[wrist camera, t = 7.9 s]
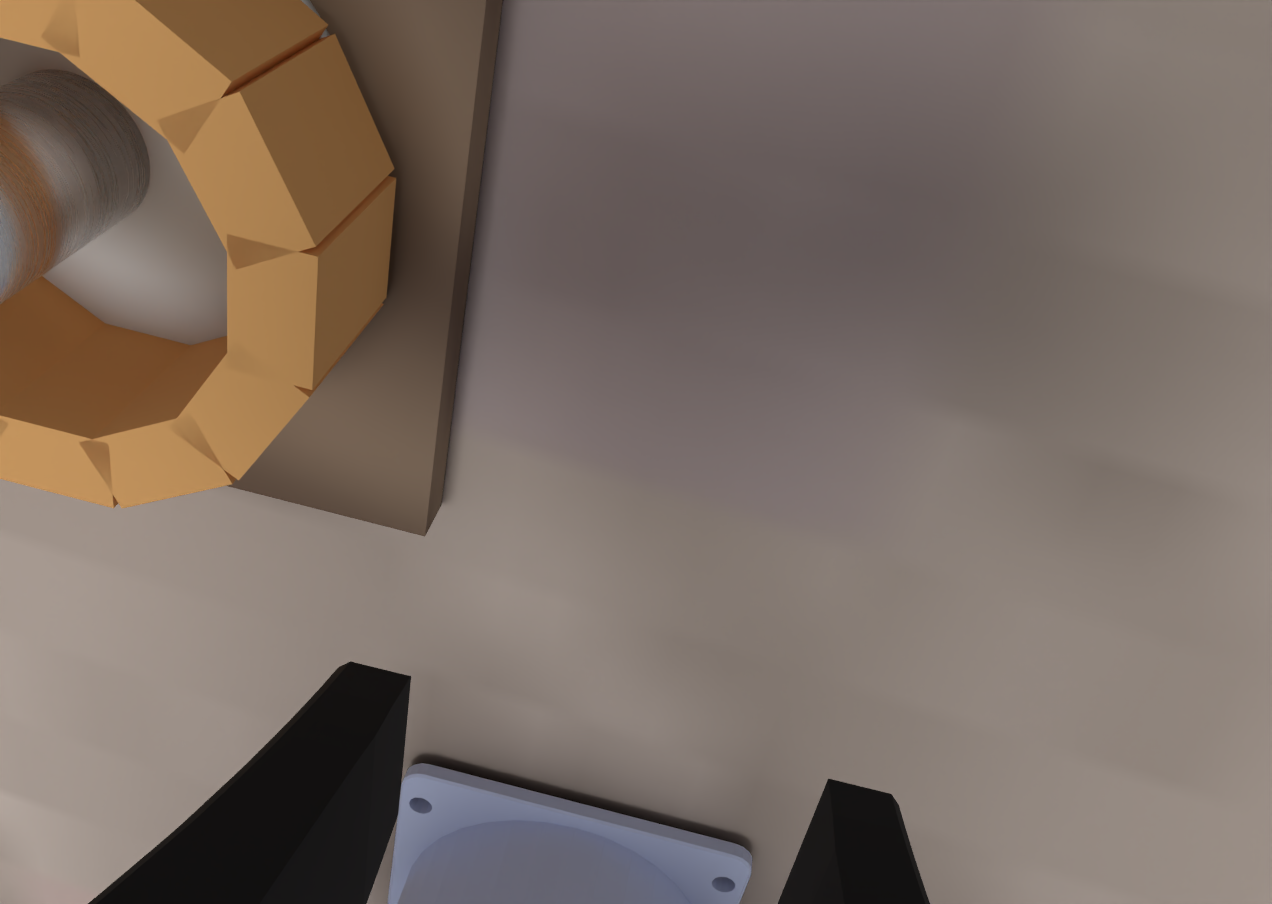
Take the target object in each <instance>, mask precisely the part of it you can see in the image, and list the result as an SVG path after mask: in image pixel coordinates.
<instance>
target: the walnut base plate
mask: <svg viewBox="0 0 1272 904" xmlns="http://www.w3.org/2000/svg"><path fill="white" fill-rule="evenodd" d="M301 1H302V2H303V3H304V4H306V5H307V6H308V7H309V8H310V9H311V10H312V11H313V12H315V13H316V14H317V15H318V16H319V17H320V18H321V19H323V20H324V21H325V22H326V23H327V24H328V26H327V28H326V29H325V31H324V32H323V34H322V35H321V37H320V38H319V39H321V38H324V37H327V36H329V35H332V34H335V35H336V37H337V39H338V42H339V44H340V46H341V48H342V51H343V53H344V55H345V57H346V60H347V62H348V64H349V66H350V69H351V71H352V73H353V76H354V78H355V80H356V82H357V85H358V87H359V89H360V91H361V94H362V96H363V98H364V100H365V103H366V105H367V107H368V109H369V112H370V114H371V116H372V119H373V121H374V123H375V125H376V128H377V130H378V132H379V134H380V137H381V139H382V141H383V143H384V146H385V148H386V150H387V153H388V155H389V157H390V159H391V162H392V164H393V166H394V168H395V169H394V170H393V171H392V172H391V173H390V174H389V175H388V176H391V177H395V178H396V188H395V200H394V212H393V224H392V236H391V249H390V261H389V273H388V285H387V297H386V299H385V300H384V301H383V302H382V303H383V304H384V305H383V306H382V307H381V308H380V310H379V311H378V312H377V313H376V315H375V316H374V317H373V318H372V320H371V321H370V322H369V323H368V325H367V326H366V327H365V328H364V330H363V331H362V332H361V333H360V335H359V336H358V337H357V338H356V340H355V341H354V342H353V343H352V345H351V346H350V347H349V348H348V350H347V351H346V352H345V353H344V355H343V356H342V357H341V359H340V360H339V361H338V362H337V364H336V365H335V366H334V367H333V369H332V370H331V371H330V372H329V374H328V375H327V376H326V377H325V379H324V380H323V381H322V382H321V384H320V385H319V386H318V387H317V389H316V390H315V391H314V392H313V394H312V395H311V396H310V397H309V399H308V400H307V401H306V402H305V403H304V405H303V406H302V407H301V408H300V409H299V410H298V412H297V413H296V414H295V415H294V416H293V417H292V419H291V420H290V421H289V422H288V423H287V424H286V426H285V427H284V428H283V429H282V430H281V432H280V433H279V434H278V435H277V436H276V437H275V439H274V440H273V441H272V442H271V443H270V444H269V446H268V447H267V448H266V449H265V450H264V451H263V453H262V454H261V455H260V456H259V457H258V459H257V460H256V461H255V462H254V463H253V464H252V466H251V467H250V468H249V469H248V470H247V471H246V473H245V474H244V475H243V476H242V477H241V478H240V480H237V479H236V480H235V481H234V483H233V484H231V485H226V486H229V487H233V488H237V489H241V490H245V491H249V492H253V493H257V494H261V495H265V496H269V497H273V498H277V499H281V500H284V501H288V502H292V503H296V504H300V505H304V506H308V507H312V508H316V509H320V510H324V511H328V512H332V513H336V514H339V515H343V516H347V517H351V518H355V519H359V520H363V521H367V522H371V523H375V524H379V525H383V526H387V527H391V528H394V529H398V530H402V531H406V532H410V533H414V534H418V535H422V536H425V535H426V533H427V531H428V529H429V528H430V526H431V524H432V522H433V520H434V518H435V516H436V514H437V512H438V510H439V508H440V506H441V502H442V494H443V486H444V478H445V469H446V461H447V453H448V445H449V437H450V428H451V420H452V412H453V404H454V396H455V388H456V379H457V371H458V363H459V355H460V347H461V338H462V330H463V322H464V314H465V306H466V297H467V289H468V281H469V273H470V265H471V256H472V248H473V240H474V232H475V224H476V215H477V207H478V199H479V191H480V183H481V174H482V166H483V158H484V150H485V142H486V133H487V125H488V117H489V109H490V101H491V93H492V84H493V76H494V68H495V60H496V52H497V43H498V35H499V27H500V19H501V11H502V2H503V0H301ZM48 69H50V70H62V71H68V72H71V73H74V74H78V75H80V76H82V77H85V78H87V79H89V80H91V81H92V82H94V83H96V84H98V83H97V82H95V81H94V80H93V79H92V78H90V77H89V76H88V75H87V74H85V73H84V72H83V71H82V70H81V69H79V68H78V67H77V66H76V65H74V64H73V63H72V62H71V61H69V60H68V59H67V58H66V57H65V56H63V55H62V54H61V53H60V52H56V51H52V50H48V49H44V48H40V47H36V46H32V45H28V44H24V43H20V42H16V41H12V40H8V39H4V38H0V86H1V85H4V84H6V83H8V82H11V81H13V80H15V79H18V78H20V77H22V76H25V75H27V74H29V73H32V72H36V71H39V70H48ZM98 85H99V84H98ZM99 86H100V85H99ZM102 88H103V87H102ZM103 89H104V88H103ZM107 92H108V91H107ZM113 97H114V96H113ZM114 98H115V97H114ZM115 99H116V98H115ZM118 102H119V103H120V104H121V105H122V106H123V107H124V108H125V109H126V111H127V112H128V113H129V114H130V116H131V117H132V119H133V120H134V122H135V123H136V125H137V127H138V128H139V131H140V133H141V135H142V137H143V139H144V142H145V145H146V148H147V151H148V156H149V162H150V181H149V187H148V190H147V193H146V196H145V198H144V200H143V202H142V203H141V204H140V206H139V207H138V208H137V209H136V210H135V211H134V212H133V213H132V214H131V215H129V216H128V217H126V218H125V219H124V220H122V221H121V222H119V223H118V224H116V225H115V226H113V227H112V228H110V229H109V230H108V231H106V232H105V233H103V234H102V235H100V236H99V237H97V238H96V239H95V240H93V241H92V242H90V243H89V244H87V245H86V246H84V247H83V248H81V249H80V250H79V251H77V252H76V253H74V254H73V255H71V256H70V257H68V258H67V259H65V260H64V261H63V262H61V263H60V264H58V265H57V266H55V267H54V268H52V269H51V270H49V271H48V272H47V273H45V274H44V275H42V276H43V277H44V278H45V279H47V280H48V281H49V282H51V283H52V284H53V285H55V286H56V287H57V288H59V289H60V290H61V291H63V292H64V293H65V294H67V295H68V296H69V297H71V298H72V299H73V300H75V301H76V302H77V303H79V304H80V305H81V306H83V307H84V308H85V309H87V310H88V311H89V312H91V313H92V314H93V315H95V316H96V317H97V318H99V319H100V320H101V321H103V322H104V323H106V324H109V325H113V326H117V327H121V328H125V329H129V330H133V331H137V332H141V333H145V334H149V335H153V336H157V337H160V338H164V339H168V340H172V341H176V342H180V343H184V344H188V345H194V344H198V343H201V342H205V341H209V340H213V339H216V338H220V337H224V336H227V251H226V249H225V247H224V246H223V244H222V242H221V240H220V238H219V236H218V234H217V232H216V231H215V229H214V227H213V225H212V223H211V221H210V219H209V217H208V216H207V214H206V212H205V210H204V208H203V206H202V204H201V202H200V201H199V199H198V197H197V195H196V193H195V191H194V189H193V187H192V186H191V184H190V182H189V180H188V178H187V176H186V174H185V172H184V171H183V169H182V167H181V165H180V163H179V161H178V159H177V157H176V156H175V154H174V152H173V150H172V148H171V146H170V144H169V143H168V141H167V139H165V138H164V137H163V136H162V135H160V134H159V133H158V132H157V131H156V130H154V129H153V128H152V127H151V126H149V125H148V124H147V123H146V122H144V121H143V120H142V119H141V118H140V117H138V116H137V115H136V114H135V113H133V112H132V111H131V110H130V109H128V108H127V107H126V106H125V105H124V104H122V103H121V102H120V101H119V100H118Z"/></svg>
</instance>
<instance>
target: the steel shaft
mask: <svg viewBox="0 0 1272 904" xmlns="http://www.w3.org/2000/svg"><path fill="white" fill-rule="evenodd" d="M149 181H150V162H149V156H148V151H147V148H146V145H145V142H144V139H143V137H142V135H141V133H140V131H139V128H138V127H137V125H136V123H135V122H134V120H133V119H132V117H131V116H130V114H129V113H128V112H127V111H126V109H125V108H124V107H123V106H122V105H121V104H120V103H119V102H118V100H117V99H115V98H114V97H113V96H112V95H111V94H110V93H109V92H107V91H106V90H105V89H103V88H102V87H101V86H99V85H98V84H96V83H94V82H92V81H91V80H89V79H87V78H85V77H82V76H80V75H78V74H74V73H71V72H68V71H62V70H50V69H48V70H39V71H36V72H32V73H29V74H27V75H25V76H22V77H20V78H18V79H15V80H13V81H11V82H8V83H6V84H4V85H1V86H0V304H2V303H3V302H4V301H6V300H7V299H9V298H10V297H12V296H13V295H15V294H16V293H18V292H19V291H20V290H22V289H23V288H25V287H26V286H28V285H29V284H31V283H32V282H34V281H35V280H36V279H38V278H39V277H41V276H42V275H44V274H45V273H47V272H48V271H49V270H51V269H52V268H54V267H55V266H57V265H58V264H60V263H61V262H63V261H64V260H65V259H67V258H68V257H70V256H71V255H73V254H74V253H76V252H77V251H79V250H80V249H81V248H83V247H84V246H86V245H87V244H89V243H90V242H92V241H93V240H95V239H96V238H97V237H99V236H100V235H102V234H103V233H105V232H106V231H108V230H109V229H110V228H112V227H113V226H115V225H116V224H118V223H119V222H121V221H122V220H124V219H125V218H126V217H128V216H129V215H131V214H132V213H133V212H134V211H135V210H136V209H137V208H138V207H139V206H140V204H141V203H142V202H143V200H144V198H145V196H146V193H147V190H148V187H149Z"/></svg>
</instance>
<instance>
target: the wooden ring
mask: <svg viewBox="0 0 1272 904" xmlns="http://www.w3.org/2000/svg"><path fill="white" fill-rule="evenodd" d="M327 26H328V24H327V23H326V22H325V21H324V20H323V19H321V18H320V17H319V16H318V15H317V14H316V13H315V12H313V11H312V10H311V9H310V8H309V7H308V6H307V5H306V4H304V3H303V2H302V1H301V0H0V38H4V39H8V40H12V41H16V42H20V43H24V44H28V45H32V46H36V47H40V48H44V49H48V50H52V51H56V52H60V53H61V54H62V55H63V56H65V57H66V58H67V59H68V60H69V61H71V62H72V63H73V64H74V65H76V66H77V67H78V68H79V69H81V70H82V71H83V72H84V73H85V74H87V75H88V76H89V77H90V78H92V79H93V80H94V81H95V82H97V83H98V84H99V85H100V86H101V87H103V88H104V89H105V90H106V91H108V92H109V93H110V94H111V95H112V96H114V97H115V98H116V99H117V100H119V101H120V102H121V103H122V104H124V105H125V106H126V107H127V108H128V109H130V110H131V111H132V112H133V113H135V114H136V115H137V116H138V117H140V118H141V119H142V120H143V121H144V122H146V123H147V124H148V125H149V126H151V127H152V128H153V129H154V130H156V131H157V132H158V133H159V134H160V135H162V136H163V137H164V138H165V139H167V141H168V143H169V144H170V146H171V148H172V150H173V152H174V154H175V156H176V157H177V159H178V161H179V163H180V165H181V167H182V169H183V171H184V172H185V174H186V176H187V178H188V180H189V182H190V184H191V186H192V187H193V189H194V191H195V193H196V195H197V197H198V199H199V201H200V202H201V204H202V206H203V208H204V210H205V212H206V214H207V216H208V217H209V219H210V221H211V223H212V225H213V227H214V229H215V231H216V232H217V234H218V236H219V238H220V240H221V242H222V244H223V246H224V247H225V249H226V251H227V336H224V337H220V338H216V339H213V340H209V341H205V342H201V343H198V344H194V345H188V344H184V343H180V342H176V341H172V340H168V339H164V338H160V337H157V336H153V335H149V334H145V333H141V332H137V331H133V330H129V329H125V328H121V327H117V326H113V325H109V324H106V323H104V322H103V321H101V320H100V319H99V318H97V317H96V316H95V315H93V314H92V313H91V312H89V311H88V310H87V309H85V308H84V307H83V306H81V305H80V304H79V303H77V302H76V301H75V300H73V299H72V298H71V297H69V296H68V295H67V294H65V293H64V292H63V291H61V290H60V289H59V288H57V287H56V286H55V285H53V284H52V283H51V282H49V281H48V280H47V279H45V278H44V277H43V276H41V277H39V278H38V279H36V280H35V281H34V282H32V283H31V284H29V285H28V286H26V287H25V288H23V289H22V290H20V291H19V292H18V293H16V294H15V295H13V296H12V297H10V298H9V299H7V300H6V301H4V302H3V303H2V304H0V479H3V480H7V481H11V482H15V483H18V484H22V485H26V486H30V487H34V488H38V489H42V490H46V491H49V492H53V493H57V494H61V495H65V496H69V497H73V498H76V499H80V500H84V501H88V502H92V503H96V504H100V505H104V506H107V507H111V508H114V507H115V506H116V505H117V504H118V503H119V505H120V506H121V508H126V507H131V506H135V505H140V504H144V503H149V502H154V501H158V500H163V499H167V498H172V497H176V496H181V495H185V494H190V493H194V492H199V491H204V490H208V489H213V488H217V487H222V486H226V485H231V484H233V483H234V481H235V480H236V479H237V480H240V478H241V477H242V476H243V475H244V474H245V473H246V471H247V470H248V469H249V468H250V467H251V466H252V464H253V463H254V462H255V461H256V460H257V459H258V457H259V456H260V455H261V454H262V453H263V451H264V450H265V449H266V448H267V447H268V446H269V444H270V443H271V442H272V441H273V440H274V439H275V437H276V436H277V435H278V434H279V433H280V432H281V430H282V429H283V428H284V427H285V426H286V424H287V423H288V422H289V421H290V420H291V419H292V417H293V416H294V415H295V414H296V413H297V412H298V410H299V409H300V408H301V407H302V406H303V405H304V403H305V402H306V401H307V400H308V399H309V397H310V396H311V395H312V394H313V392H314V391H315V390H316V389H317V387H318V386H319V385H320V384H321V382H322V381H323V380H324V379H325V377H326V376H327V375H328V374H329V372H330V371H331V370H332V369H333V367H334V366H335V365H336V364H337V362H338V361H339V360H340V359H341V357H342V356H343V355H344V353H345V352H346V351H347V350H348V348H349V347H350V346H351V345H352V343H353V342H354V341H355V340H356V338H357V337H358V336H359V335H360V333H361V332H362V331H363V330H364V328H365V327H366V326H367V325H368V323H369V322H370V321H371V320H372V318H373V317H374V316H375V315H376V313H377V312H378V311H379V310H380V308H381V307H382V306H383V305H384V304H383V303H382V302H383V301H384V300H385V299H386V297H387V285H388V273H389V261H390V249H391V236H392V224H393V212H394V200H395V188H396V178H395V177H391V176H388V175H389V174H390V173H391V172H392V171H393V170H394V169H395V168H394V166H393V164H392V162H391V159H390V157H389V155H388V153H387V150H386V148H385V146H384V143H383V141H382V139H381V137H380V134H379V132H378V130H377V128H376V125H375V123H374V121H373V119H372V116H371V114H370V112H369V109H368V107H367V105H366V103H365V100H364V98H363V96H362V94H361V91H360V89H359V87H358V85H357V82H356V80H355V78H354V76H353V73H352V71H351V69H350V66H349V64H348V62H347V60H346V57H345V55H344V53H343V51H342V48H341V46H340V44H339V42H338V39H337V37H336V35H335V34H332V35H329V36H327V37H324V38H321V39H319V38H320V37H321V35H322V34H323V32H324V31H325V29H326V28H327Z"/></svg>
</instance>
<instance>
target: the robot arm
mask: <svg viewBox="0 0 1272 904" xmlns="http://www.w3.org/2000/svg"><path fill="white" fill-rule="evenodd" d="M410 682H411V676H407V675H403V674H399V673H395V672H391V671H387V670H383V669H378V668H374V667H370V666H366V665H362V664H358V663H354V662H349V663H347V664H345V665H342V666H340V667H339V668H338V669H337V670H336V671H335V672H334V673H333V674H332V675H331V677H330V678H329V679H328V680H327V681H326V682H325V683H324V685H323V686H322V687H321V688H320V689H319V690H318V691H317V692H316V693H315V694H314V695H313V697H312V698H311V699H310V700H309V701H308V702H307V703H306V704H305V705H304V706H303V707H302V708H301V709H300V710H299V711H298V713H297V714H296V715H295V716H294V717H293V718H292V719H291V720H290V721H289V722H288V723H287V724H286V725H285V726H284V727H283V728H282V729H281V730H280V731H279V732H278V733H277V734H276V735H275V736H274V737H273V738H272V739H271V740H270V741H269V742H268V743H267V744H266V745H265V746H264V747H263V748H262V749H261V750H260V751H259V752H258V753H257V754H256V755H255V756H254V757H253V758H252V759H251V760H250V761H249V762H248V763H247V764H246V765H245V766H244V767H243V768H242V769H241V770H240V771H239V772H238V773H236V774H235V775H234V776H233V777H232V778H231V779H230V780H229V781H228V782H227V783H226V784H225V785H224V786H222V787H221V788H220V789H219V790H218V791H217V792H216V793H215V794H214V795H213V796H212V797H211V798H210V799H209V800H207V801H206V802H205V803H204V804H203V805H202V806H201V807H200V808H199V809H198V810H197V811H196V812H195V813H193V814H192V815H191V816H190V817H189V818H188V819H187V820H186V821H185V822H184V823H183V824H181V825H180V826H179V827H178V828H177V829H176V830H175V831H174V832H172V833H171V834H170V835H169V836H168V837H167V838H166V839H164V840H163V841H162V842H161V843H160V844H159V845H157V846H156V847H155V848H154V849H153V850H151V851H150V852H149V853H148V854H147V855H145V856H144V857H143V858H142V859H141V860H140V861H138V862H137V863H136V864H135V865H134V866H132V867H131V868H130V869H129V870H128V871H127V872H125V873H124V874H123V875H122V876H121V877H119V878H118V879H117V880H116V881H115V882H113V883H112V884H111V885H110V886H109V887H108V888H106V889H105V890H104V891H103V892H102V893H100V894H99V895H98V896H97V897H96V898H94V899H93V900H92V901H91V902H89V903H88V904H366V903H367V900H368V898H369V895H370V892H371V889H372V887H373V884H374V881H375V878H376V876H377V873H378V870H379V867H380V864H381V862H382V859H383V856H384V853H385V850H386V847H387V844H388V842H389V839H390V836H391V833H392V830H393V827H394V824H395V821H396V819H397V826H396V835H395V843H394V852H393V860H392V869H391V877H390V886H389V894H388V903H387V904H739V903H740V901H741V898H742V896H743V893H744V891H745V888H746V886H747V883H748V881H749V878H750V876H751V869H752V856H751V854H750V852H749V851H748V850H746V849H745V848H744V847H743V846H740V845H738V844H735V843H732V842H728V841H724V840H720V839H716V838H712V837H709V836H705V835H701V834H697V833H693V832H689V831H685V830H682V829H678V828H674V827H670V826H666V825H662V824H658V823H655V822H651V821H647V820H643V819H639V818H635V817H631V816H628V815H624V814H620V813H616V812H612V811H608V810H604V809H601V808H597V807H593V806H589V805H585V804H581V803H578V802H574V801H570V800H566V799H562V798H558V797H554V796H551V795H547V794H543V793H539V792H535V791H531V790H527V789H524V788H520V787H516V786H512V785H508V784H504V783H500V782H497V781H493V780H489V779H485V778H481V777H477V776H473V775H470V774H466V773H462V772H458V771H454V770H450V769H446V768H443V767H439V766H435V765H431V764H424V763H420V764H415V765H412V766H411V767H409V768H408V770H407V772H406V774H405V777H404V779H403V782H402V784H401V779H402V768H403V757H404V747H405V736H406V725H407V714H408V703H409V692H410ZM400 790H401V793H400ZM397 816H398V818H397ZM778 904H930V903H929V900H928V897H927V894H926V891H925V888H924V885H923V882H922V879H921V876H920V873H919V870H918V867H917V864H916V861H915V858H914V855H913V852H912V848H911V845H910V842H909V839H908V835H907V832H906V829H905V825H904V822H903V819H902V815H901V812H900V808H899V805H898V803H897V802H896V800H895V799H894V797H893V796H892V794H889V793H885V792H881V791H876V790H872V789H868V788H864V787H860V786H856V785H852V784H848V783H844V782H840V781H836V780H832V779H828V781H827V783H826V786H825V788H824V791H823V793H822V796H821V798H820V801H819V803H818V806H817V808H816V811H815V813H814V816H813V818H812V820H811V823H810V825H809V828H808V830H807V833H806V835H805V838H804V840H803V843H802V845H801V848H800V850H799V853H798V855H797V858H796V860H795V862H794V865H793V867H792V870H791V872H790V875H789V877H788V880H787V882H786V885H785V887H784V890H783V892H782V895H781V897H780V900H779V902H778Z"/></svg>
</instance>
